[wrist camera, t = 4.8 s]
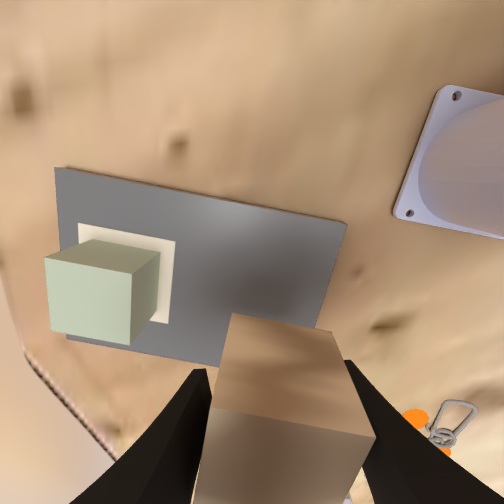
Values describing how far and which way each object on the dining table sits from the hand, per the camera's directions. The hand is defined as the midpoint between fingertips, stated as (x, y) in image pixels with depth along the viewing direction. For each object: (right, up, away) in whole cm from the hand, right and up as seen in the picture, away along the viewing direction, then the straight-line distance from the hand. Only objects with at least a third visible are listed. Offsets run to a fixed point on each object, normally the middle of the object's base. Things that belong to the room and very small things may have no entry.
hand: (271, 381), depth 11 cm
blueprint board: (-6, +4, +8) cm, 10 cm away
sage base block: (-10, +4, +7) cm, 13 cm away
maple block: (0, 0, +1) cm, 1 cm away
